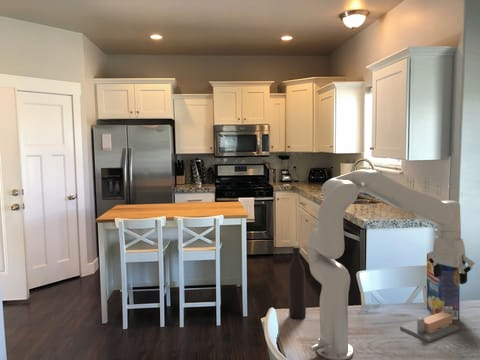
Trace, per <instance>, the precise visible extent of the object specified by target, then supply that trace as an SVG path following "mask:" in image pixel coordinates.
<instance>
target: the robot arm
mask: <svg viewBox="0 0 480 360" xmlns="http://www.w3.org/2000/svg"><path fill="white" fill-rule="evenodd" d="M359 193H362V194H367V195H369V196H371V197H373V198H376V199H378V200H379V201H382V202H383V203H385V204H387V205H389V206H391V207H394V208H396V209H399V210H402V211H406V212H410V213H412V214H413V215H414V217H415V218H416V219H417V220H419V221H421V222H425V223H428V224H434V225H436V226H437V227H436V228H435V229H434V233H436V236H435V237H434V242H433V248H432V249H433V250H432V251H430V252H426V257H427V256H428V258H429V261H430V262H431V263H432V266H433V267H434V277H439V276H441V266H440V265H439V264H441V265H446V266H450V267H455V268H457V267H458V269H459V270H460V285H464V284H467V282H468V273H469V272H470V271H471V270H473V268H474V266H475V264H476V263H475V262H474V260H472V259H471V258H469V257H467V255H466V248H465V242H464V239H463V238H462V230H461V229H462V224H461V221H462V220H461V204H460V202H459V201H456V200H452V199H451V200H447V199H446V200H440V199H438V198H436V197H434V196H432V195H429V194H426V193H424V192H421V191H419V190H417V189H414V188H412V187H410V186H407V185H404V184H403V183H401V182H399V181H397V180H395V179H393V178H391V177H389V176H387V175H386V174H384V173H382V172H380V171H377V170H374V169H357V170H353V171H350V172H348V173H345V174H342V175H338V176H336V177H335V176H334V177H332V178H329V179H328V180H326V181H325V182H324V183H323V184H322V187H321V194H322V195H321V196H322V197H323V198H324V199H323V200H322V202H321V203H320V205H319V207H318V210H317V227H315V228H314V229H312V230H311V231H310V233H309V234H308V238H307V251H308V266H309V271H310V274H311V276H312V277H313V278H314V279H315V280H316V281H318V283H320V284H321V291H320V294H319V333H320V336H319V338H317V342H316V344H312V345H310V346H309V350H310V352H312V353H313V352H316V353H317V354H318V355H320V356H321V357H322V358H324V359H328V360H348V359H350V358H351V357H352V356H353V355H354V348H353V346H352V345H351V344H349V291H350V286H351V285H350V284H351V276H350V273H349V270H348V269H347V267H345V266H344V264H342V263H340V262H338V261H336V259H340V257H342V255H343V254H344V251H345V234H344V217H345V213H346V211H347V210H348V208H349V207H350V206H351V205H352V204H353V203H354V202H355V201H356V200H357V199H358V195H359ZM466 264H467V266H466Z"/></svg>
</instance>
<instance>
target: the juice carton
mask: <svg viewBox="0 0 480 360" xmlns="http://www.w3.org/2000/svg"><path fill="white" fill-rule="evenodd" d="M439 265H440V266H441V276H439V277H434V267H433V266H432V263H431V262H430V261H429V258H428V256H427V255H426V309H427V310H429V311H430V312H431V313H432V315H434V314H437V313H440V312H445V313H448V314H451V315H452V320H460V295H461V294H460V289H461V287H460V285H461V284H460V273H461V271H460V270H459V269H458V267H457V268H455V267H450V266H446V265H441V264H439Z"/></svg>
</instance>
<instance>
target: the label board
mask: <svg viewBox="0 0 480 360" xmlns="http://www.w3.org/2000/svg"><path fill="white" fill-rule="evenodd" d="M429 316H430V315H427V316H425V317H417V318H416V319H415V320H413V321H411V322H407V323H405V324H403V325H400V326H399V329H400V330H401V331H403V332H405V333H407V334H410V335H412V336H414V337H416V338H418V339H421V340H423V341H425V342H428V343H430V342H432V341H434V340H436V339H437V340H438V339H439V338H442V337H444V336H446V335H449V334H451V333H453V332H455V331H458V330H459V326H458V325H455V324H452V323H450V324H447V325H445V326H442V327H440V328H437V329H435V330H432V331H430V332H428V331H426V330H424V318H426V317H429Z"/></svg>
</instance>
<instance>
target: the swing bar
mask: <svg viewBox="0 0 480 360" xmlns="http://www.w3.org/2000/svg"><path fill="white" fill-rule="evenodd" d="M428 316H429V317H427V316H425V317H426V318H424V317H423V318H424V330H426V331H428V332H430V331H432V330H435V329H437V328H440V327H442V326H445V325H447V324H452V323H453V319H452V315H451V314H448V313H445V312H440V313H437V314H432V315H428Z"/></svg>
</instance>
